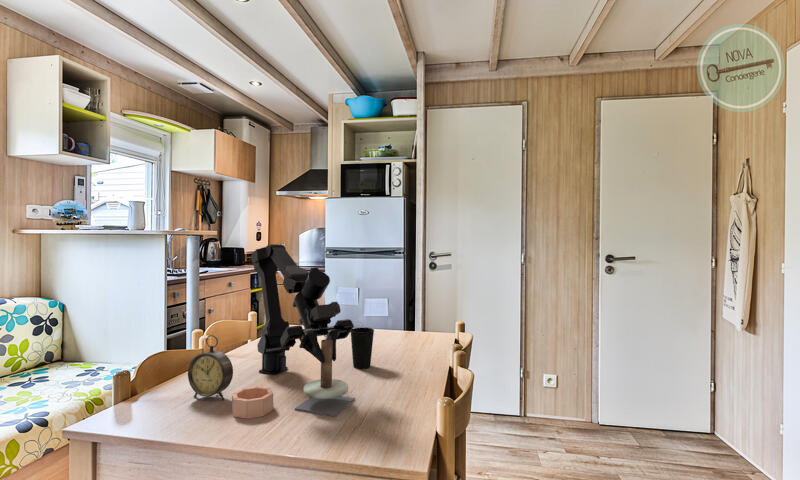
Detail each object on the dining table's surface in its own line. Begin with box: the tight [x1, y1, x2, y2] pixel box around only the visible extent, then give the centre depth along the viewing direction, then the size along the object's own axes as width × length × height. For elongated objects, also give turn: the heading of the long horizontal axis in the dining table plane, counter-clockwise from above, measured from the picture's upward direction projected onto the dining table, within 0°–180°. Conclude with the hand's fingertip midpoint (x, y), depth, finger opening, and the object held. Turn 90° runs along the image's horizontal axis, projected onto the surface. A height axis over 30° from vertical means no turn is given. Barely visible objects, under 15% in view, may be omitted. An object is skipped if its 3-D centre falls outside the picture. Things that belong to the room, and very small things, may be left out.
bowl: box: [231, 385, 274, 419], centre depth 101 cm, size 9×9×4 cm
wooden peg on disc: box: [303, 338, 349, 399], centre depth 104 cm, size 11×11×12 cm
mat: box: [294, 395, 356, 417], centre depth 104 cm, size 11×11×1 cm
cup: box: [350, 326, 375, 370], centre depth 136 cm, size 8×8×12 cm
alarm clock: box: [187, 334, 234, 401], centre depth 108 cm, size 11×5×16 cm, turn 75°
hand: (329, 361), depth 103 cm, fingers closed on wooden peg on disc, 3 cm apart
